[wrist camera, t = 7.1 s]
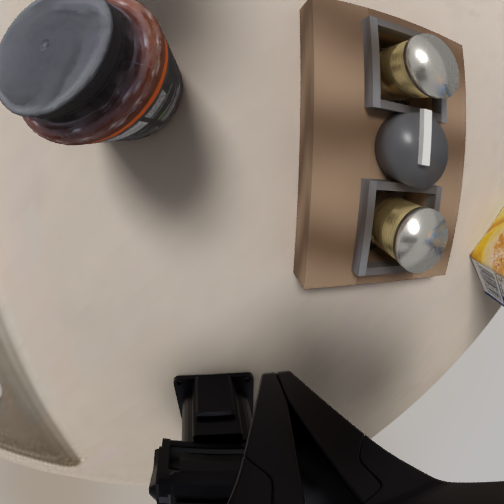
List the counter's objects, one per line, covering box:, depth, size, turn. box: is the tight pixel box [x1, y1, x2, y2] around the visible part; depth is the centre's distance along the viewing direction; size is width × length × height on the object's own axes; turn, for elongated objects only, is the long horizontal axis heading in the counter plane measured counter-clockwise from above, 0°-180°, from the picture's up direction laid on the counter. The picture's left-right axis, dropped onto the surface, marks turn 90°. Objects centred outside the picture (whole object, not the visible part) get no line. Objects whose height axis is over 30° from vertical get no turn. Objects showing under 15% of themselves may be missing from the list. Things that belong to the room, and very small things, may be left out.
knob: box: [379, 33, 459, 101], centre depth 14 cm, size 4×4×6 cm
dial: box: [375, 109, 448, 189], centre depth 15 cm, size 5×4×2 cm
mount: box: [294, 0, 466, 289], centre depth 17 cm, size 18×12×4 cm, turn 0°
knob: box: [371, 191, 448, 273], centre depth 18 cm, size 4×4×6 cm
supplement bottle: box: [0, 0, 183, 145], centre depth 10 cm, size 6×6×11 cm
